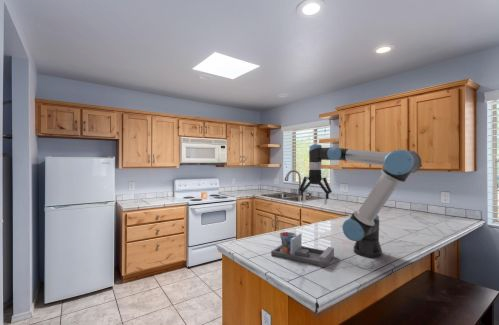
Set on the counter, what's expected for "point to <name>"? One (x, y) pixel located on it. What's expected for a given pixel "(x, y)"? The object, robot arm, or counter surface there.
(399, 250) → the counter surface
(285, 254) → the grey tray
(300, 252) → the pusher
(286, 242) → the mug
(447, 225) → the counter surface
